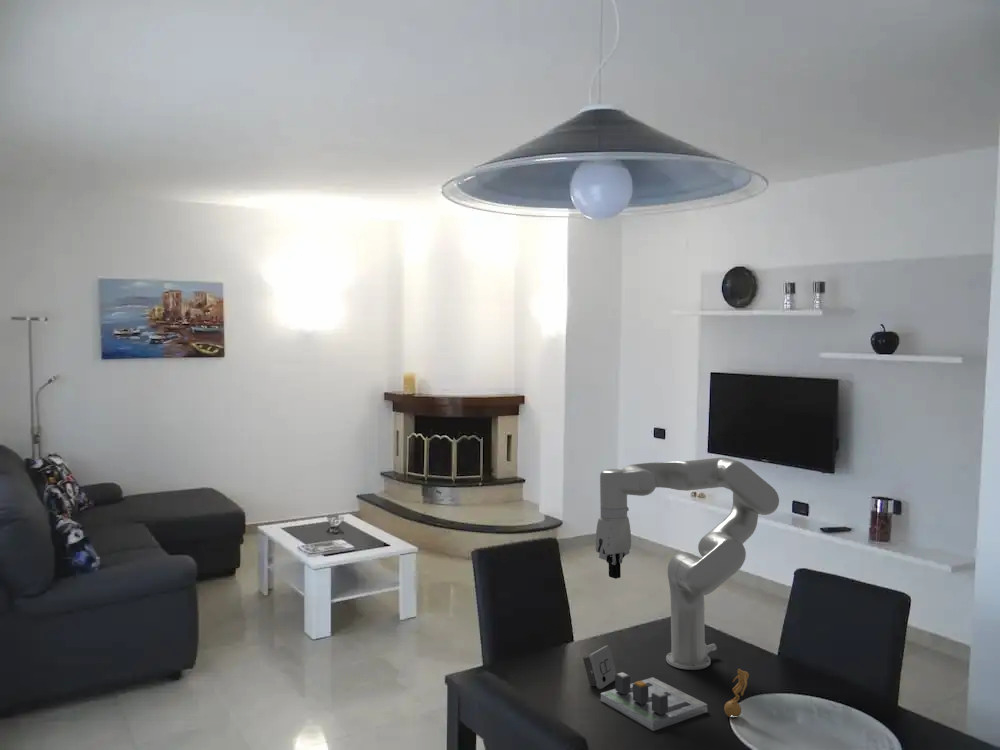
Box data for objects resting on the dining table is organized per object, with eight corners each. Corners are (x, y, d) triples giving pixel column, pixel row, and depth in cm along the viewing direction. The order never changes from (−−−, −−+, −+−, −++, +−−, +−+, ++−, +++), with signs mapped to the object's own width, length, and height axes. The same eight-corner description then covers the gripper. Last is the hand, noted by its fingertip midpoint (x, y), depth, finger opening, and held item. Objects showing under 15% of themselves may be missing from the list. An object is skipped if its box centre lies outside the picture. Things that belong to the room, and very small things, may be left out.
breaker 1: (622, 687, 210) (622, 671, 210) (630, 691, 207) (630, 675, 207) (615, 690, 208) (615, 673, 208) (622, 694, 206) (622, 677, 206)
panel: (652, 684, 217) (652, 676, 217) (707, 712, 200) (707, 703, 200) (600, 700, 208) (600, 692, 208) (653, 731, 191) (652, 722, 191)
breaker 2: (659, 707, 198) (659, 690, 198) (667, 712, 195) (667, 694, 195) (651, 710, 196) (651, 692, 196) (660, 714, 194) (660, 696, 194)
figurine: (720, 709, 201) (720, 662, 201) (745, 709, 201) (744, 662, 201) (728, 725, 193) (727, 676, 193) (753, 725, 193) (753, 675, 192)
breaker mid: (640, 697, 204) (640, 679, 204) (648, 701, 201) (648, 683, 201) (633, 699, 202) (632, 682, 202) (640, 704, 200) (640, 686, 200)
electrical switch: (600, 690, 214) (596, 656, 214) (584, 688, 217) (580, 653, 218) (618, 679, 221) (614, 645, 222) (602, 676, 225) (598, 643, 225)
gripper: (623, 507, 234) (624, 570, 234) (585, 514, 225) (586, 579, 226) (642, 511, 228) (643, 575, 228) (603, 518, 219) (604, 585, 220)
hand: (614, 577), depth 227 cm, fingers closed
